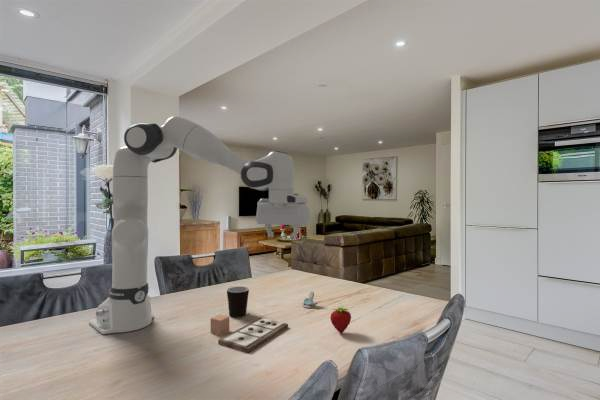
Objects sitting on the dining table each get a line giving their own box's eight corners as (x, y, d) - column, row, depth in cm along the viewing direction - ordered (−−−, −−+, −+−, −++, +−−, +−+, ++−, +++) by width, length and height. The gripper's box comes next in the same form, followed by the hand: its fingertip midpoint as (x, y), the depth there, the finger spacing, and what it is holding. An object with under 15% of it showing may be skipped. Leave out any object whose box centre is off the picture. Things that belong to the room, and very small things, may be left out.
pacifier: (307, 310, 130) (319, 307, 133) (306, 295, 130) (319, 292, 133) (299, 305, 136) (311, 302, 139) (298, 290, 136) (310, 288, 139)
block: (210, 333, 106) (210, 318, 106) (219, 328, 110) (219, 314, 110) (220, 335, 104) (220, 320, 104) (229, 331, 108) (229, 316, 108)
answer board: (218, 343, 98) (218, 338, 98) (260, 320, 117) (260, 316, 117) (248, 353, 92) (248, 347, 92) (287, 327, 111) (287, 322, 111)
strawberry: (326, 331, 108) (326, 302, 108) (344, 328, 111) (345, 299, 111) (336, 338, 102) (336, 307, 102) (354, 334, 106) (355, 304, 106)
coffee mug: (243, 319, 118) (244, 293, 118) (222, 317, 120) (222, 291, 120) (254, 309, 130) (254, 285, 130) (234, 307, 131) (235, 283, 131)
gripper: (252, 198, 111) (252, 237, 111) (302, 197, 101) (302, 240, 101) (262, 198, 117) (263, 235, 117) (311, 197, 107) (311, 238, 107)
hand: (281, 237), depth 109 cm, fingers open, 8 cm apart
